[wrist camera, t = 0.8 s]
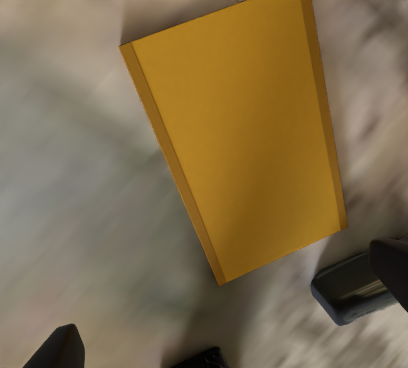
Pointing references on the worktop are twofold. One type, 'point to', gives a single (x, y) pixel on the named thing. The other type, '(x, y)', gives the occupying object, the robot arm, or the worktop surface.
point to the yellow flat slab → (244, 129)
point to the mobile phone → (351, 290)
